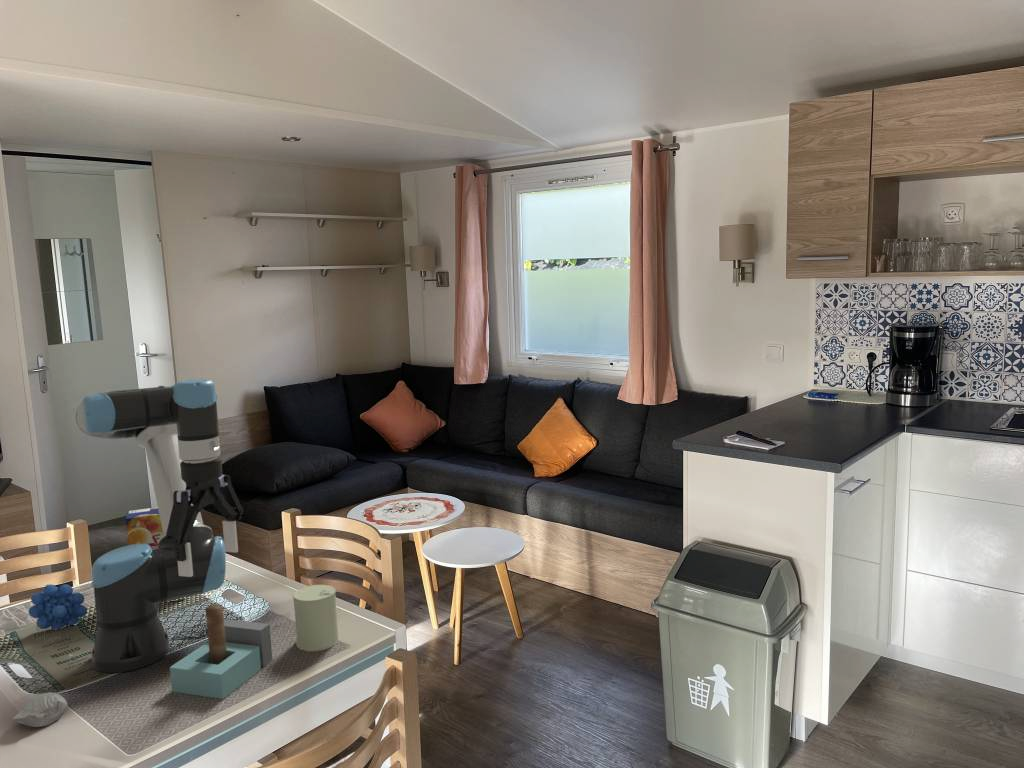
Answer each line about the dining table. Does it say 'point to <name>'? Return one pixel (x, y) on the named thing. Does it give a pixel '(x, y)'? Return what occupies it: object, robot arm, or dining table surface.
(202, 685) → the block
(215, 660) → the dowel
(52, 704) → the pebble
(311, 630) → the can
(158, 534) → the juice carton
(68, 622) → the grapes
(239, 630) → the wall
